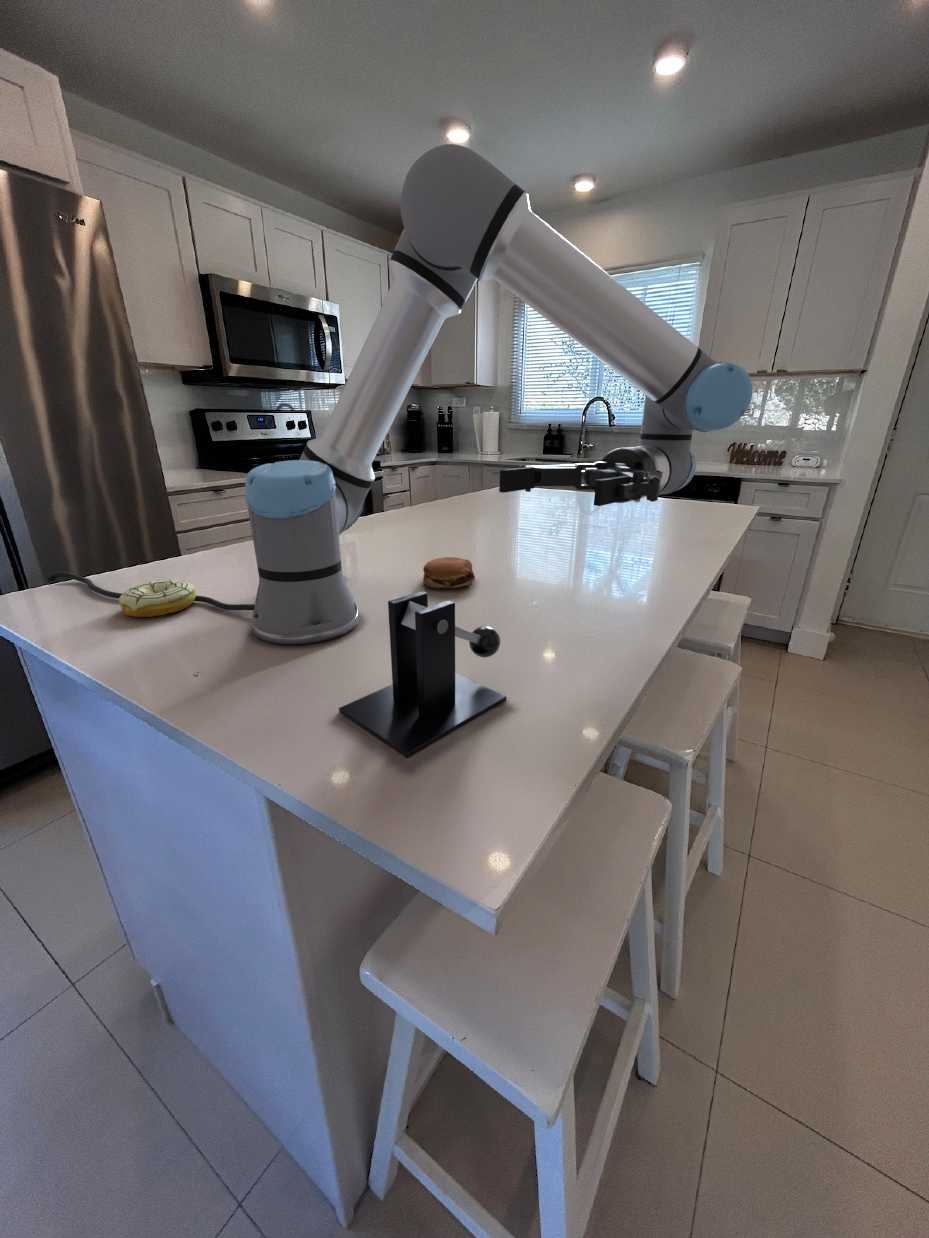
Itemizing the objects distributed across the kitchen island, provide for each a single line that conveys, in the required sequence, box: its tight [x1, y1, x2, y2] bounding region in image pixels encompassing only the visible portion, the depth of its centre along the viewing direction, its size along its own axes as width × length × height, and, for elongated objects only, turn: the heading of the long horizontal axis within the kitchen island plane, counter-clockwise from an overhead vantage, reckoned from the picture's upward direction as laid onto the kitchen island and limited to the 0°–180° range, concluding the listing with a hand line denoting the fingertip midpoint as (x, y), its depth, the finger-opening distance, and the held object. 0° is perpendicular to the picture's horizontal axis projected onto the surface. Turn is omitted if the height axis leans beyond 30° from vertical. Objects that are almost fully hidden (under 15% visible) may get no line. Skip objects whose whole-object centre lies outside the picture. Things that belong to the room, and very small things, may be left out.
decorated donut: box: [118, 578, 197, 618], centre depth 83 cm, size 10×11×4 cm
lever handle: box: [401, 602, 501, 658], centre depth 55 cm, size 14×4×4 cm, turn 136°
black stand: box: [338, 590, 507, 759], centre depth 52 cm, size 14×11×13 cm
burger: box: [422, 556, 476, 589], centre depth 96 cm, size 10×9×5 cm
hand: (546, 486), depth 60 cm, fingers open, 13 cm apart
